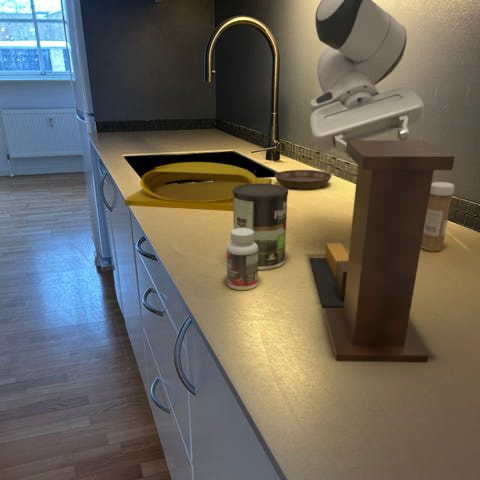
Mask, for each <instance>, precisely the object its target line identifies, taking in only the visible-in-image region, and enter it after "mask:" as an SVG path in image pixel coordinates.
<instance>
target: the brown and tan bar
mask: <svg viewBox="0 0 480 480" xmlns="http://www.w3.org/2000/svg"><path fill="white" fill-rule="evenodd" d="M324 253H325V254H324V258H325V259H326V261H327V263H328V265H329V267H330V269H331V271H332V273H333V275H334V277H335V290H336V292H337V294H338V296H339V298H340V300H344V298H345V288H346V279H347V269H348V259H349V252H347V250H346V249H345V247H344V245H343V243H342V242H326V243H325V251H324Z"/></svg>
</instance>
